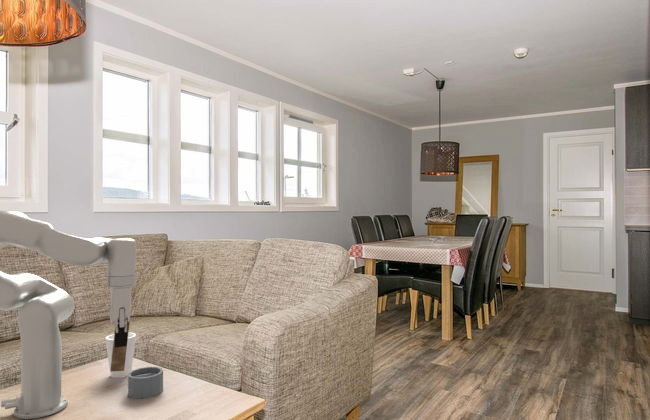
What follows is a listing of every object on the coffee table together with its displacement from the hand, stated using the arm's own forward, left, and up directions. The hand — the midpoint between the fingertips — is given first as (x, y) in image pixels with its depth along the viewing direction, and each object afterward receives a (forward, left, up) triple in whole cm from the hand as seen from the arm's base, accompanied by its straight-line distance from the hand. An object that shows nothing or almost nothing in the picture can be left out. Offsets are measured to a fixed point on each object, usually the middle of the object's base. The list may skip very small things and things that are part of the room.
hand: (120, 344), depth 124 cm
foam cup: (+1, +26, -17) cm, 31 cm away
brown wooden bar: (-1, 0, -7) cm, 7 cm away
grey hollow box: (+7, +6, -17) cm, 19 cm away
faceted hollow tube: (+7, +6, -17) cm, 19 cm away
